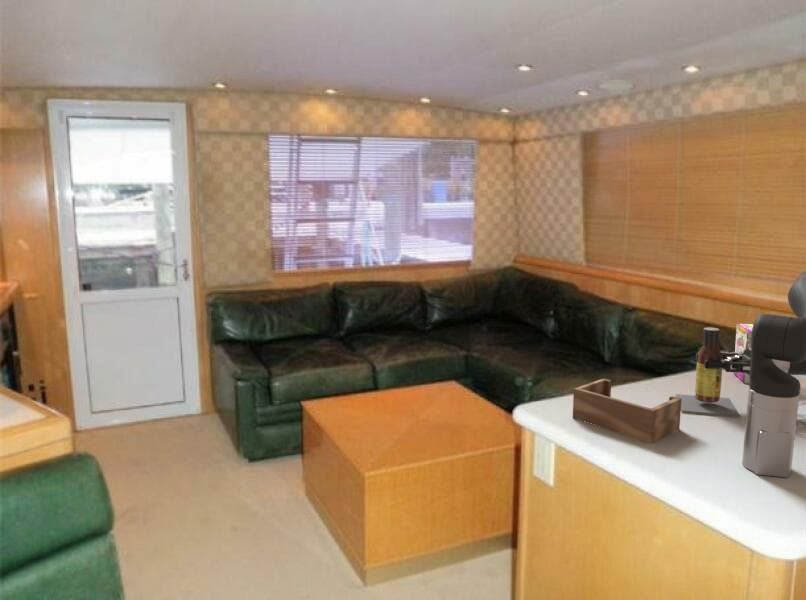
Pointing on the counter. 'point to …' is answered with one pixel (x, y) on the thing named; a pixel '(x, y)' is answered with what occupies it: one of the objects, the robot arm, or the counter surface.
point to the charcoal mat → (707, 406)
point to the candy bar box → (743, 346)
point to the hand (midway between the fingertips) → (700, 360)
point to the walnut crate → (625, 413)
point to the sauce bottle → (708, 378)
